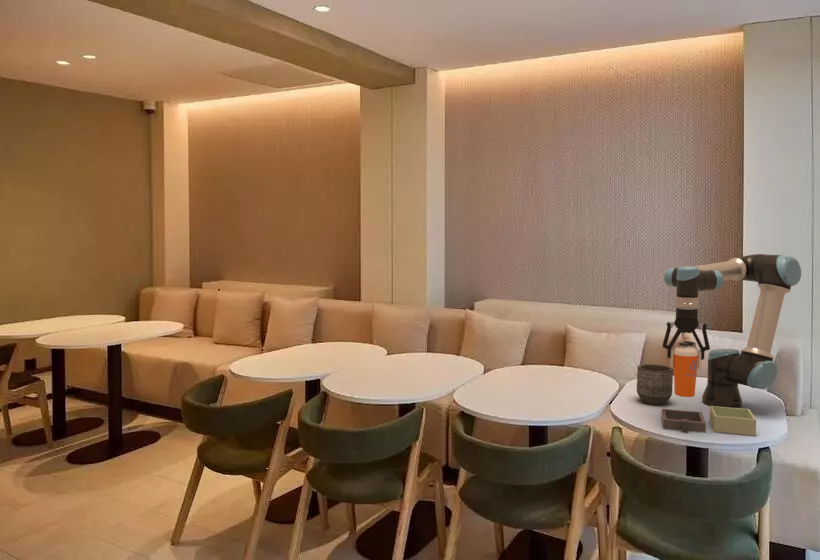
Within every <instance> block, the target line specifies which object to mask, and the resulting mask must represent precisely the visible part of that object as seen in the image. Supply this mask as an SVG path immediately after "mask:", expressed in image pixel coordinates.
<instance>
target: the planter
mask: <svg viewBox="0 0 820 560" xmlns="http://www.w3.org/2000/svg"><path fill="white" fill-rule="evenodd" d="M636 368H637V371H636V375H637V376H636V394H637V395H638V397H639V399H640V401H641V402H642V403H644V404H646V405H652V406H664V405H666V404H667V403H668V402H669V401H670V399H671V397H672V396H673V385H674V367H670V365H664V364H655V363H654V364H653V363H643V364H639V365H637V367H636Z"/></svg>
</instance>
